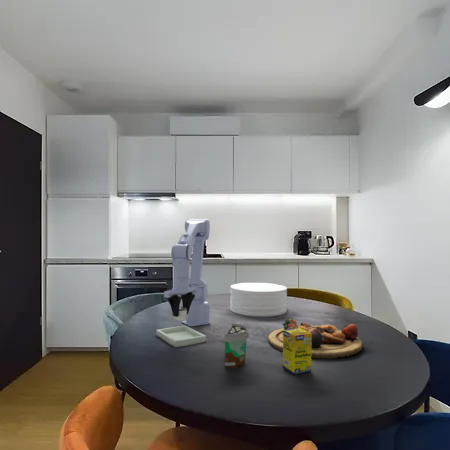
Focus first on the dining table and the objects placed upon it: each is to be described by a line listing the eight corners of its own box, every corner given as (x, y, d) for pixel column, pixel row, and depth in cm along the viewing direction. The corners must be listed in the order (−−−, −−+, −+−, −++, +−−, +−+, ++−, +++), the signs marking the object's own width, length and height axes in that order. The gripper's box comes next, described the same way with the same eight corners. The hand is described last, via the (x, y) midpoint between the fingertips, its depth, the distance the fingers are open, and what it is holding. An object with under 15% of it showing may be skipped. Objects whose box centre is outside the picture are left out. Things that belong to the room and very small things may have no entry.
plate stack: (295, 308, 179) (295, 285, 179) (272, 319, 155) (272, 293, 155) (247, 301, 194) (247, 281, 194) (219, 311, 170) (219, 287, 170)
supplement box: (294, 375, 95) (294, 335, 95) (282, 367, 100) (282, 329, 101) (312, 372, 97) (312, 333, 98) (299, 364, 103) (299, 327, 103)
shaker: (180, 316, 130) (180, 306, 130) (189, 318, 127) (189, 307, 127) (171, 319, 126) (172, 308, 126) (180, 321, 123) (180, 309, 123)
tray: (185, 330, 136) (185, 325, 136) (206, 341, 123) (206, 335, 123) (156, 335, 130) (156, 329, 130) (175, 347, 116) (175, 341, 116)
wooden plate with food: (360, 336, 133) (360, 314, 133) (364, 365, 103) (364, 337, 103) (277, 329, 144) (277, 308, 144) (258, 353, 113) (258, 328, 114)
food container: (245, 372, 97) (246, 335, 97) (223, 370, 98) (224, 334, 98) (251, 356, 109) (251, 324, 109) (231, 355, 110) (232, 323, 110)
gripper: (187, 274, 135) (187, 309, 135) (158, 278, 124) (157, 316, 123) (201, 276, 130) (200, 312, 130) (172, 280, 119) (171, 320, 119)
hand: (180, 315), depth 126 cm, fingers closed on shaker, 4 cm apart
